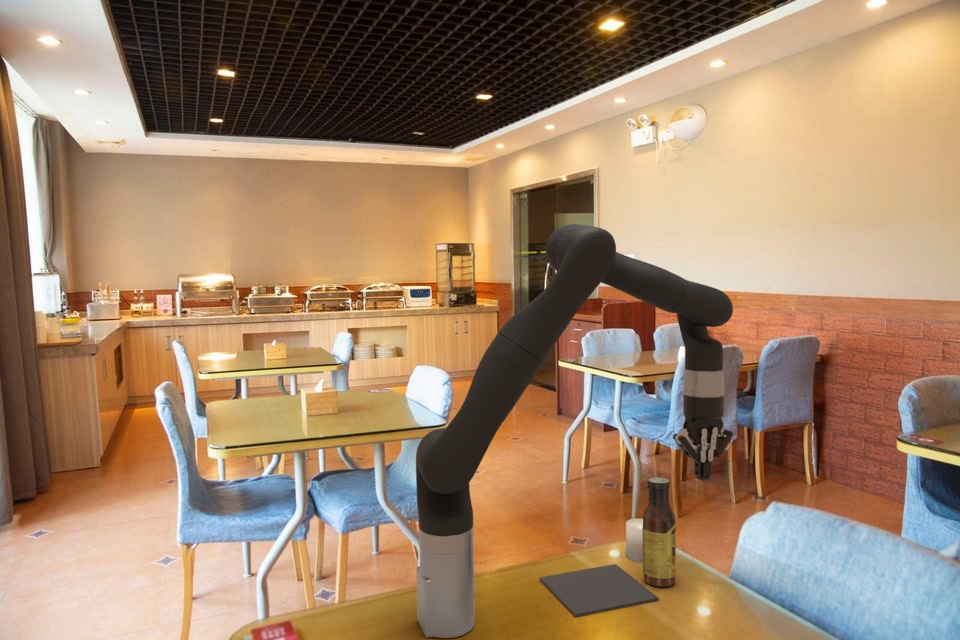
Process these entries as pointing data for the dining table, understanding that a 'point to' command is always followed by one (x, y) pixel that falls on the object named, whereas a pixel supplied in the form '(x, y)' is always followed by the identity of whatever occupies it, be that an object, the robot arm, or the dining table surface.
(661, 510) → the sauce bottle
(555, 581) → the bar mat
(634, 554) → the white rounded cylinder
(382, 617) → the dining table surface
